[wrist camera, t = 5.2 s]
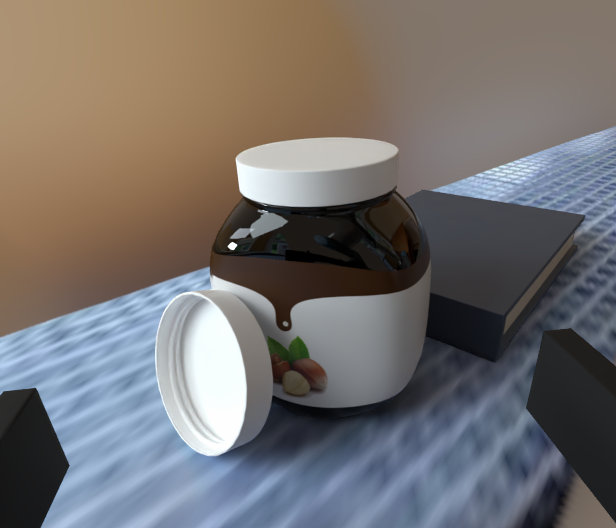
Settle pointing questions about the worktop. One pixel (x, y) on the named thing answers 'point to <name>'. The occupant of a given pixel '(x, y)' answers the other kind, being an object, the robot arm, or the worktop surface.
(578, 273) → the worktop surface
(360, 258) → the spread jar
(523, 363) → the worktop surface
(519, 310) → the book
